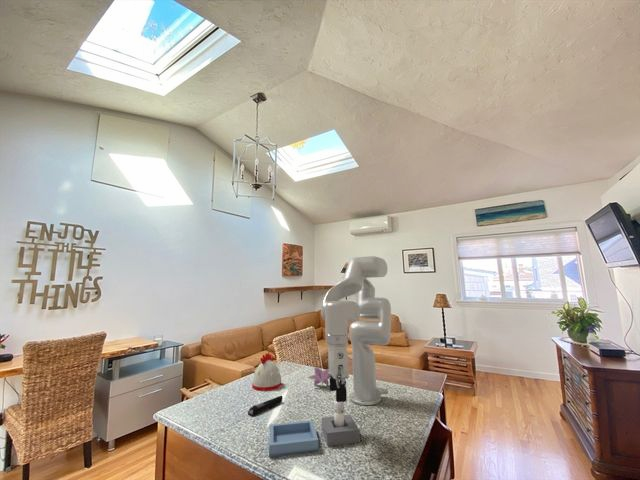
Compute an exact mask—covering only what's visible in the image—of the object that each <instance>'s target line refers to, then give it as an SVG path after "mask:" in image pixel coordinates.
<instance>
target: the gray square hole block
mask: <svg viewBox="0 0 640 480" xmlns="http://www.w3.org/2000/svg"><path fill="white" fill-rule="evenodd" d="M320 418H321V419H320V420H321V421H320V422H321V431H322V434H323V438H324V439H325V443H326V444H325V445H326V446H327V447H332V446H339V445H349V444H356V443H360V428H359V427H358V425H357V423H356V422H355V420H354V418H353V417H352V416H351V414H344V425H345V427H336V428H335V426H334V415H332V416H326V417H320Z"/></svg>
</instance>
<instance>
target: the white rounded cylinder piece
mask: <svg viewBox="0 0 640 480" xmlns="http://www.w3.org/2000/svg"><path fill="white" fill-rule="evenodd" d="M344 415H345V402H337V401H336V399H334V400H333V416H334V426H335V428H336V427H345V425H344Z"/></svg>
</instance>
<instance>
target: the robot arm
mask: <svg viewBox="0 0 640 480" xmlns="http://www.w3.org/2000/svg"><path fill="white" fill-rule="evenodd" d="M387 274H388V263H387V262H386V260H385V259H384V258H381V257H379V256H374V255H372V256H359V257H356V256H355V257H353V258H352V259H350V260H349V261H348V264H347V266H346V269H345V272H344V276H343V278H342V279H341V280H340V281H339V282H337V283H336V284H335V285H333V286H332V287H331V288H330V289H329V290H327V292H326V294H325V296H324V298H323V301H322V304H321V308H320V314H321V318H322V319H323V320H324V322H325V324H324V326H325V327H324V328H325V329H324V331H325V346H328V348H327V349H328V350H327V351H328V358H327V360H328V361H327V362H328V366H327V367H328V369H329V373H330V379H329V390H330V392H335V400H336V401H337V402H344V403H345V402H347V395H348V394H347V380H348V379H349V378H350V373H349V372H350V371H349V359H348V358H349V357H348V349H347V346H348V345H349V339H350V343H351V353H352V355H351V356H352V359H351V360H352V376H353V377H352V381H353V392H352V393H351V394H350V396H349V398H350V401H351V402H352V403H354V404H356V405H361V406H373V405H377V404H379V403H380V402H381V400H382V396H381V395H386V394H387V395H388V394H389V390H388V388H383V387H378V386H377V374H376V373H377V372H376V355H375V352H374V350H373V349H372V347H371V345H375V346H387V345H388V344H390V342H391V335H392V334H391V333H392V332H391V331H392V328H391V327H392V307H391V303H390V300H389V299H388V298H386V297H376V288H375V286H374V285H373V284H372V282H371V281H370V280H369V279H368V278H370V279H371V278H384V277H386V276H387ZM353 295H356V296H355V301H351V300H343V299H345V298H347V297H351V296H353ZM359 319H363V320H359ZM364 319H365V320H364ZM348 323H350V325H349V329H348ZM349 337H350V338H349Z"/></svg>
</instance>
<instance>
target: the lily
mask: <svg viewBox="0 0 640 480" xmlns="http://www.w3.org/2000/svg"><path fill="white" fill-rule="evenodd" d="M313 369H314V375H310V376H309V377H308V378H309V379H312V380H314V381H313V385H314V386H316V385H318V384H320V383H321V387H322V388H321V389H324V384H325V385H327V386H330V381H329V380H330V372H329V368H327V369H325V370H323V369H321V368H319V367H317V366H314V368H313Z"/></svg>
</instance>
